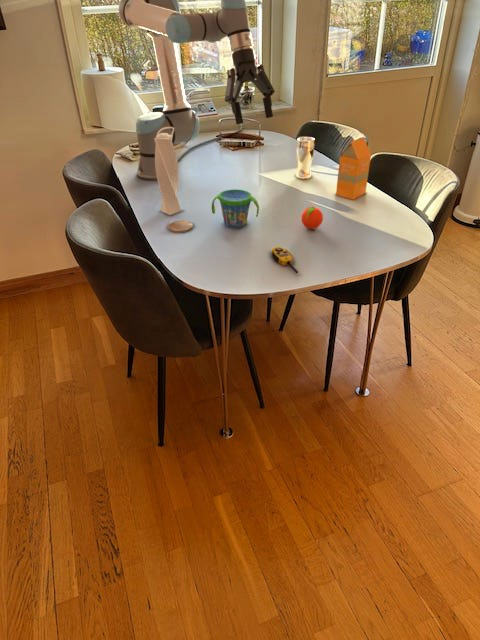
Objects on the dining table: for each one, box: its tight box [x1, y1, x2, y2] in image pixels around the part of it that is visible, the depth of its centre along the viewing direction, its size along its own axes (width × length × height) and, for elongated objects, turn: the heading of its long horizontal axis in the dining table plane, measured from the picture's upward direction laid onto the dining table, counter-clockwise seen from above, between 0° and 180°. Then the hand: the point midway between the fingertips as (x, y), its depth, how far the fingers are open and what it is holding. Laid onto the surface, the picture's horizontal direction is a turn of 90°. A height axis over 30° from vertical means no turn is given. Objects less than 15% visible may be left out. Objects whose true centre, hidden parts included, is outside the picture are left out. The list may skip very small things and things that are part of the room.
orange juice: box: [335, 136, 372, 200], centre depth 173 cm, size 8×9×20 cm
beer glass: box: [295, 136, 315, 180], centre depth 191 cm, size 7×7×15 cm
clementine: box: [300, 206, 324, 230], centre depth 153 cm, size 8×7×7 cm
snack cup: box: [211, 188, 260, 229], centre depth 156 cm, size 16×10×10 cm
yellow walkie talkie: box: [271, 246, 299, 274], centre depth 136 cm, size 5×2×15 cm
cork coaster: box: [167, 220, 193, 233], centre depth 157 cm, size 8×8×1 cm
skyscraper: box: [154, 127, 183, 216], centre depth 160 cm, size 8×8×28 cm
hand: (255, 120), depth 159 cm, fingers open, 13 cm apart
